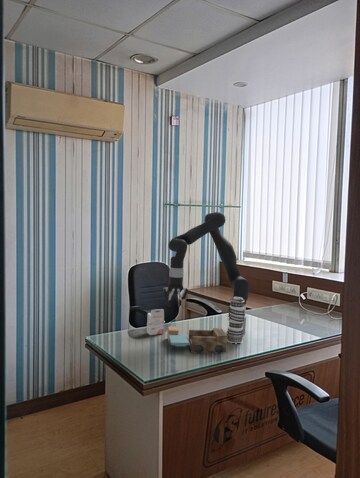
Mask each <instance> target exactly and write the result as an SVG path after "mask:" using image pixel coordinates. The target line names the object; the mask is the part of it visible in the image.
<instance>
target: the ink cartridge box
mask: <svg viewBox="0 0 360 478" xmlns="http://www.w3.org/2000/svg"><path fill="white" fill-rule="evenodd" d="M146 318H147V319H146V321H147V322H146V333H147V334H148V335H149V336H155V335H162V334H163V335H164V323H165V309H163V308H158V309H157V308H156V309H155V308H154V309H151V310H150V312H148V313H147V317H146Z"/></svg>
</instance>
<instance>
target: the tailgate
mask: <svg viewBox="0 0 360 478" xmlns="http://www.w3.org/2000/svg"><path fill="white" fill-rule="evenodd" d="M169 339H170V343H169V344H170V345H171V346H188V347H189V346H190V343H189V337H188V336H187V335H186V334H178V335H169Z"/></svg>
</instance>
